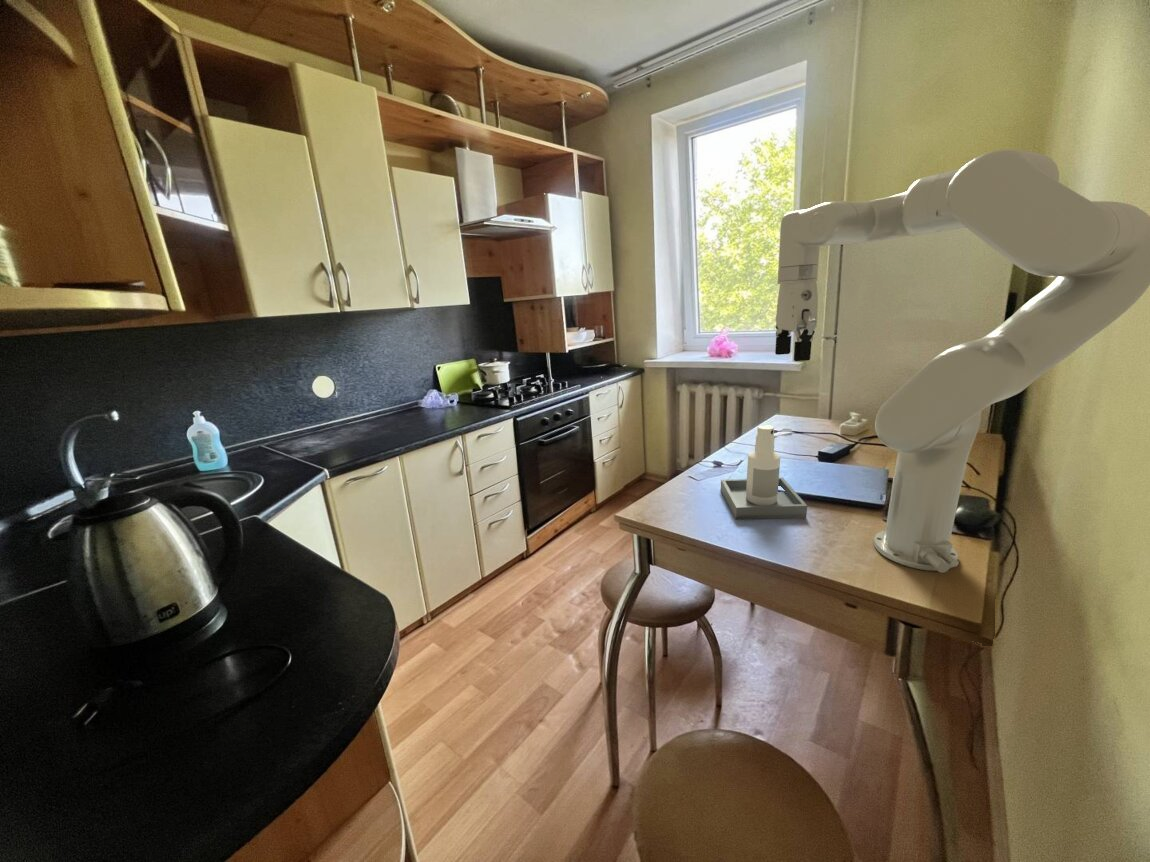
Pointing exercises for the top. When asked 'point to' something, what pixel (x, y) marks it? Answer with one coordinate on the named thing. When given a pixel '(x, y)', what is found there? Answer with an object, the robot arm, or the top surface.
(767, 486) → the spray bottle
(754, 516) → the tray
